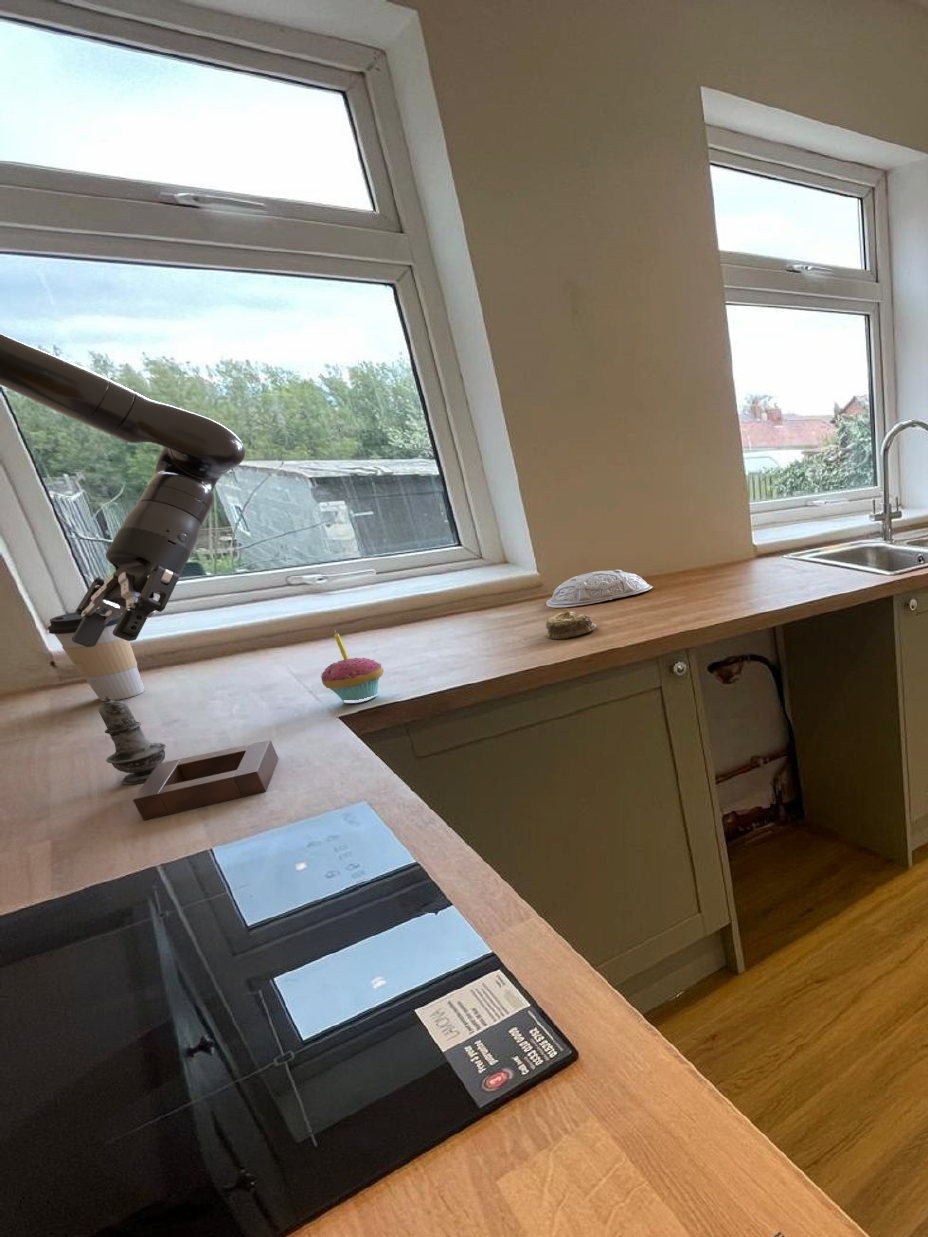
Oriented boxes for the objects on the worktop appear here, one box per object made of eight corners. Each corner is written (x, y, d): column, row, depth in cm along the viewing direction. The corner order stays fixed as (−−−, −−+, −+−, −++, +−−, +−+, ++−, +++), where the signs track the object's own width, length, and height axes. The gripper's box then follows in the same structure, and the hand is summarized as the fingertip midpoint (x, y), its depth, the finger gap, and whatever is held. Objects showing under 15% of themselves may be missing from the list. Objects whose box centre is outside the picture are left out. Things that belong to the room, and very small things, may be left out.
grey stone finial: (175, 761, 110) (137, 684, 106) (177, 774, 107) (137, 694, 102) (118, 776, 107) (76, 696, 102) (118, 790, 103) (73, 708, 98)
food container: (540, 596, 189) (535, 569, 186) (644, 583, 203) (641, 559, 200) (552, 615, 178) (547, 588, 175) (661, 601, 191) (659, 575, 188)
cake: (565, 644, 156) (557, 619, 154) (537, 638, 161) (528, 614, 159) (607, 627, 163) (599, 603, 161) (578, 622, 168) (571, 599, 166)
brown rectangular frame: (143, 820, 95) (131, 799, 94) (167, 783, 104) (157, 763, 103) (266, 791, 101) (256, 771, 99) (278, 758, 110) (270, 739, 109)
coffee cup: (71, 704, 134) (27, 622, 128) (131, 684, 143) (92, 606, 137) (114, 706, 133) (71, 622, 127) (173, 685, 141) (135, 606, 135)
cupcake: (326, 700, 131) (299, 633, 126) (384, 686, 136) (361, 621, 131) (337, 713, 125) (310, 643, 120) (397, 697, 131) (373, 629, 126)
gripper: (91, 533, 108) (32, 633, 102) (158, 518, 104) (101, 622, 98) (154, 562, 115) (103, 659, 108) (220, 549, 111) (170, 649, 105)
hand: (102, 641), depth 103 cm, fingers open, 8 cm apart
